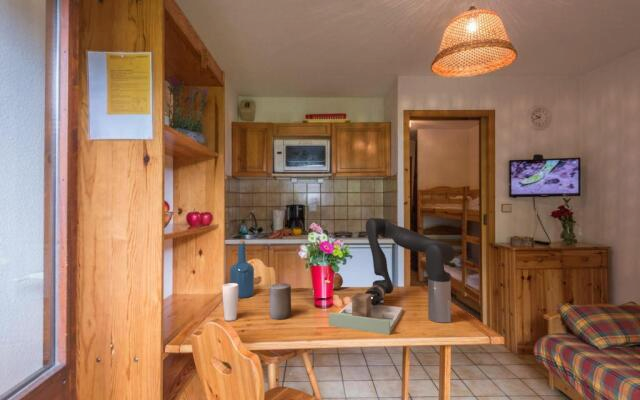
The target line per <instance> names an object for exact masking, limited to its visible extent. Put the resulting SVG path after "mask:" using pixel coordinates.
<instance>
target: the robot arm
mask: <svg viewBox="0 0 640 400" xmlns="http://www.w3.org/2000/svg"><path fill="white" fill-rule="evenodd" d="M365 232H366V236H367V240H368V243H369V247H370V251H371V255H372V264H373V265H372V266H373V271H374V272H373V273H374V275H376V276H378V277H379V276H380V277H383V279H378V280H374V281H373V282H372V285H371V287H370V288H368V289H367V290H365V293H364V294H371V305H373V306H375V305H385V303H384V302H385V301H384V300H385V299H384V297H385V296H386V294H387V295H388V294H392V293H393V291H394V284H393V282H392V279H391V277H390V274H389V270H388V261H387V257H386V254H385V252H384V250H383V249H382V247H381V246H380V243H379V239H378V236H384V237H387V238H389V239H392V241H393V242H394V243H395V244H396V245H397V246H399V247H401V248H403V249H406V250H408V251H414V252H419V253H424V254H425V271H426V274H427V282H428V283H427V285H428V286H427V288H428V290H427V295H428V296H427V298H428V299H427V300H428V302H427V305H428V307H427V308H428V309H427V310H428V311H427V314H428V320H430V321H432V322H436V323H451V320H452V296H451V295H452V294H451V291H452V288H451V287H452V286H451V285H452V284H451V283H452V282H451V281H452V279H451V273H449V272H448V271H446V270H445V264H448V263H450V262H452V261H453V260H454V259H455V257H456V251H455V248H454V247H453V246H452V245H451V244H450V243H449V242H445V241H441V240H437V239H433V238H430V237H428V236H426V235H424V234H421V233H418V232H416V231H413V229H412V230H411V229H409V228H407V227H403V226H399V225H397V224H395V223H394V224H393V223H392V222H390V221H388V220H386V219H385V218H381V217H380V218H379V217H370V218H367V220H366V222H365Z"/></svg>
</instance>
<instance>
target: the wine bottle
mask: <svg viewBox="0 0 640 400" xmlns="http://www.w3.org/2000/svg"><path fill="white" fill-rule="evenodd" d="M246 251H247V246H246V243H245V240H239V242H238V245H237V261H236V263H234V264H232V265H231V266H230V268H229V270H228V273H229V274H228V275H229V277H228V279H229V282H228V283H236V284H238V299H248V298H250V297H252V296H253V295H254V294H255V268H254V265H253V264H252V263H249V262H248V261H247V256H246V255H247V253H246Z"/></svg>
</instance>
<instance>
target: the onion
mask: <svg viewBox="0 0 640 400" xmlns="http://www.w3.org/2000/svg"><path fill="white" fill-rule="evenodd" d="M343 284H344V279H343V276H342V275H341V274H340V273H339V272H337V273H335V277H334V289H333V290H336V291H337V290H339V289H340V288H341V287H343Z"/></svg>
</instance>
